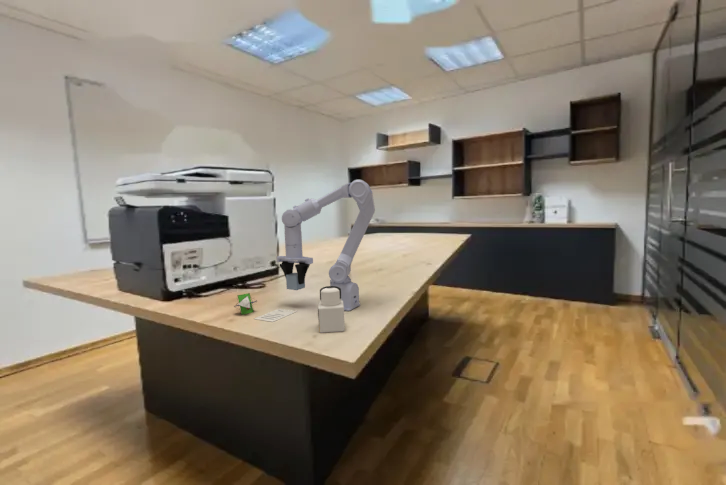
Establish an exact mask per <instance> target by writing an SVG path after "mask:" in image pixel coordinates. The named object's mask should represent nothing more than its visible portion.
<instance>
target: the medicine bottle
mask: <svg viewBox="0 0 726 485" xmlns="http://www.w3.org/2000/svg"><path fill="white" fill-rule="evenodd" d="M317 312H318V313H317V316H318V317H317V319H318V332H319V333H320V334H324V333H325V334H326V333H340V332H345V330H346V329H345V310H344V305H343V301H342V300H341V289H340V288H339V287H337V286H330V285H326V286H323V287H321V288H320V289H319V301H318V307H317Z"/></svg>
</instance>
